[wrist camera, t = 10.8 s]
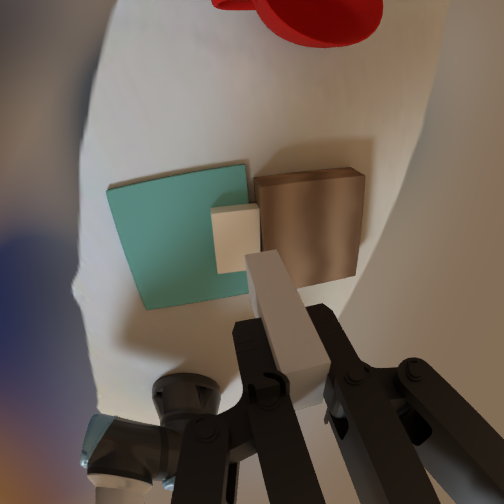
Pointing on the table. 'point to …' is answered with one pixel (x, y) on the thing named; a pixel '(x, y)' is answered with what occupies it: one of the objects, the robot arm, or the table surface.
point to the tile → (235, 235)
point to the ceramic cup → (314, 19)
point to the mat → (178, 235)
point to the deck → (312, 222)
